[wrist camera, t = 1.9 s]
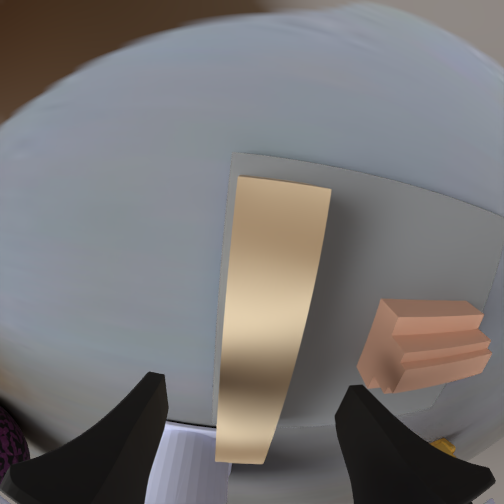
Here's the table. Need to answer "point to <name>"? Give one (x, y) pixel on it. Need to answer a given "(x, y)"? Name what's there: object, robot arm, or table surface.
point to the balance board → (380, 291)
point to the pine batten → (265, 308)
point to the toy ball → (11, 443)
